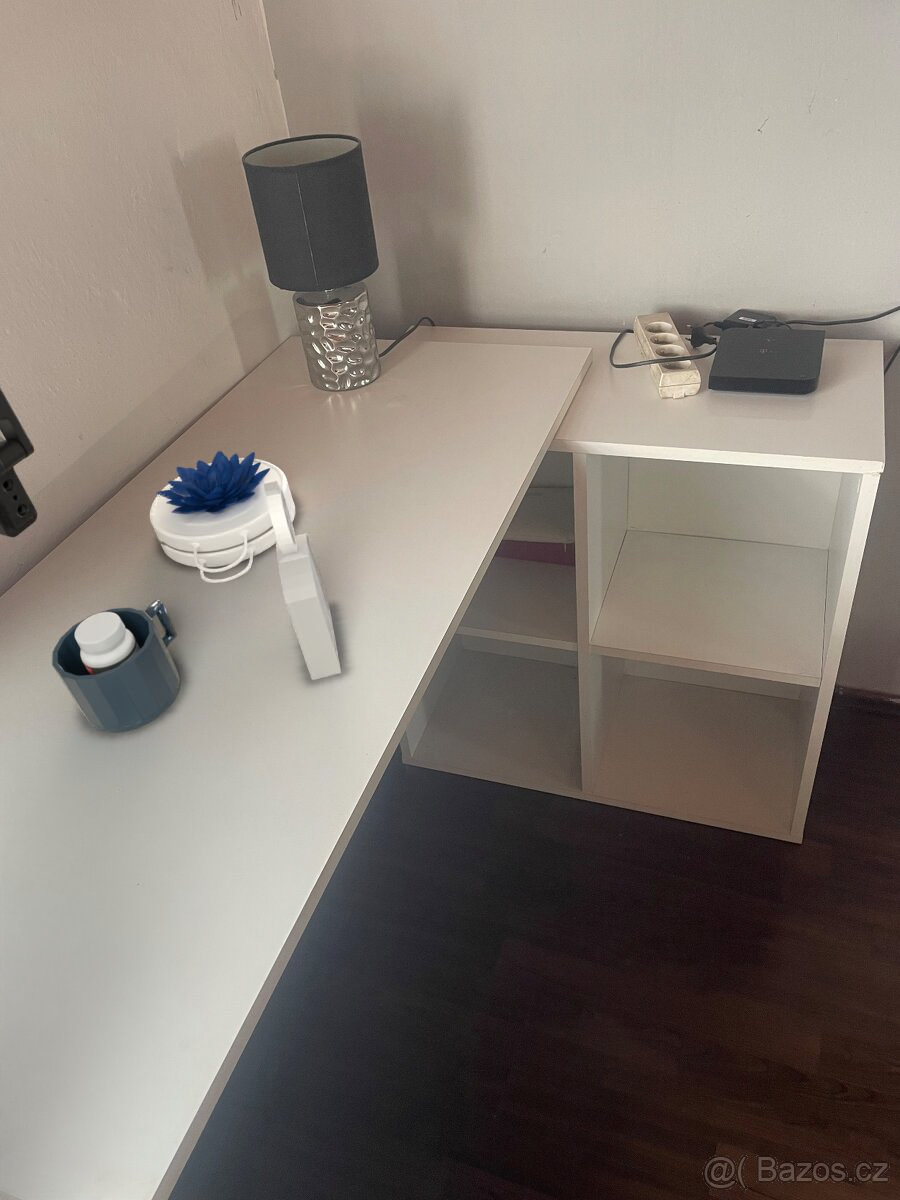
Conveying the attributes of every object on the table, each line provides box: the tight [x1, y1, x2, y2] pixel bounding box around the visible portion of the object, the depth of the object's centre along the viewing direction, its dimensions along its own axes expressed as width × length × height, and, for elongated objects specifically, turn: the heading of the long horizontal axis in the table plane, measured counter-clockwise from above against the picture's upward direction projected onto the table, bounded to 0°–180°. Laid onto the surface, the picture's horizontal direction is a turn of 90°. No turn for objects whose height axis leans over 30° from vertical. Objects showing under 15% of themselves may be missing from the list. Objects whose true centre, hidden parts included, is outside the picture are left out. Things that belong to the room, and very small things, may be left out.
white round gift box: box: [149, 450, 296, 584], centre depth 96 cm, size 7×16×20 cm
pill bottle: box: [75, 611, 140, 675], centre depth 77 cm, size 5×5×8 cm
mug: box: [51, 599, 181, 733], centre depth 79 cm, size 12×9×7 cm
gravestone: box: [264, 481, 342, 681], centre depth 77 cm, size 3×9×18 cm, turn 12°
